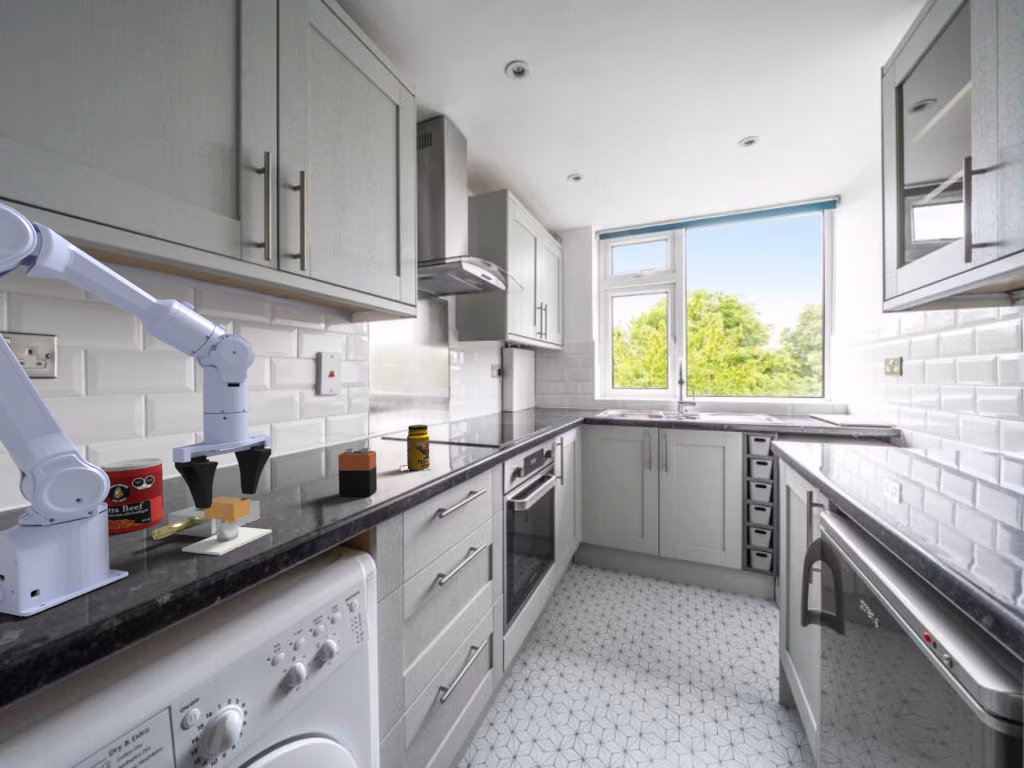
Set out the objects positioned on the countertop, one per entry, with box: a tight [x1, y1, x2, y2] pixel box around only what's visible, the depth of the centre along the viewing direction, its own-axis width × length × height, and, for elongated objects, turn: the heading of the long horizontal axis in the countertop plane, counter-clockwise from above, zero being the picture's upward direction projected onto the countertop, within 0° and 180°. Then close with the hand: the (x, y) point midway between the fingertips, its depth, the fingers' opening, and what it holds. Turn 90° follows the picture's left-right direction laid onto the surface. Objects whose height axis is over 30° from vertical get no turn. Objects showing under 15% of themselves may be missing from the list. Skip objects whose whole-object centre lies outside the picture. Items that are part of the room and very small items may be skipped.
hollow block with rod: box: [151, 499, 261, 541], centre depth 68 cm, size 14×9×3 cm, turn 166°
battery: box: [337, 447, 378, 498], centre depth 88 cm, size 4×7×10 cm, turn 87°
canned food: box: [100, 457, 164, 534], centre depth 71 cm, size 8×8×11 cm
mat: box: [181, 526, 273, 556], centre depth 63 cm, size 9×7×1 cm
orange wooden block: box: [204, 495, 251, 542], centre depth 63 cm, size 6×3×6 cm, turn 76°
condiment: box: [398, 424, 432, 473], centre depth 113 cm, size 7×8×12 cm
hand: (227, 500), depth 63 cm, fingers open, 7 cm apart
